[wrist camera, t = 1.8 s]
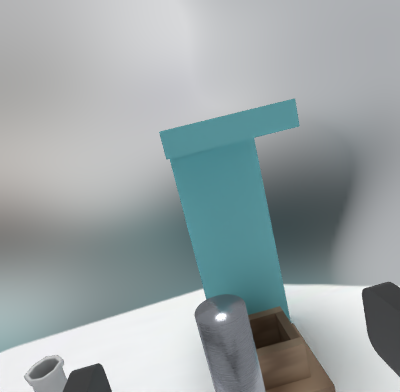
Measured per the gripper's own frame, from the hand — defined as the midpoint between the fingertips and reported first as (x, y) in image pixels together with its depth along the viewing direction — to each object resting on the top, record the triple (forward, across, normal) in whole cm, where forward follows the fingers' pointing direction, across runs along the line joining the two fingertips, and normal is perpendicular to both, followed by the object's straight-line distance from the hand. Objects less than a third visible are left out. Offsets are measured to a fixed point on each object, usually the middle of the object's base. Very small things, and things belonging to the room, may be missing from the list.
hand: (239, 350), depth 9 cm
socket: (+21, -4, +21) cm, 30 cm away
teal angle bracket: (+21, -4, +21) cm, 30 cm away
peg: (+10, 0, +21) cm, 23 cm away
